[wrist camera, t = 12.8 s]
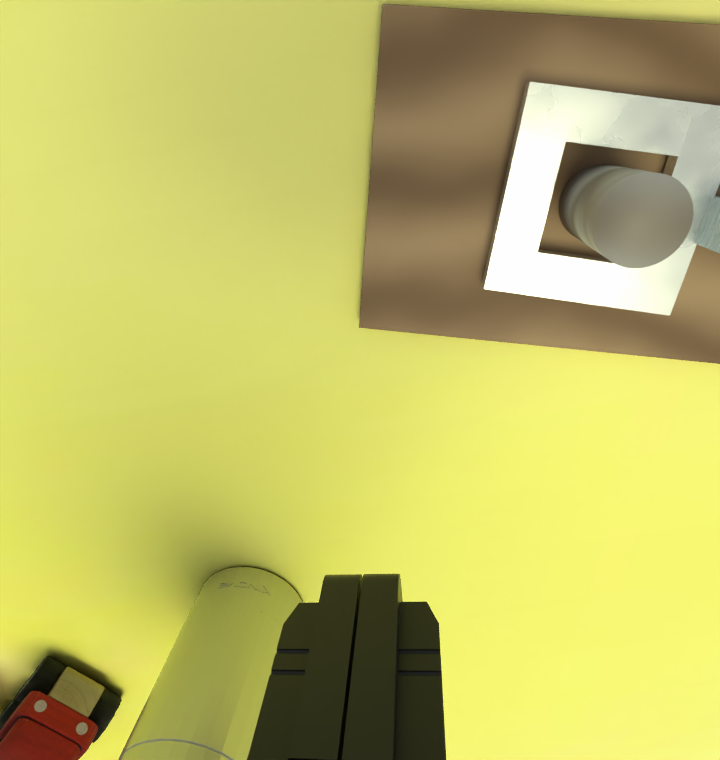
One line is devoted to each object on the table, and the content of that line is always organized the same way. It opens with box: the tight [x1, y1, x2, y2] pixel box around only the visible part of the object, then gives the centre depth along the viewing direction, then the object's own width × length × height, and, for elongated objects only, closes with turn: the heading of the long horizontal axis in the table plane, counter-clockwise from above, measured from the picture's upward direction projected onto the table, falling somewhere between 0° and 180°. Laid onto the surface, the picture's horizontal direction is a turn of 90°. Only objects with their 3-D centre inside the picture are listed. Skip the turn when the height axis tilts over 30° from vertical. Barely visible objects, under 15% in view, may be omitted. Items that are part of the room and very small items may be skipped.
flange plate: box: [482, 82, 720, 316], centre depth 27 cm, size 18×10×6 cm, turn 83°
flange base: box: [359, 4, 720, 364], centre depth 27 cm, size 17×25×8 cm
